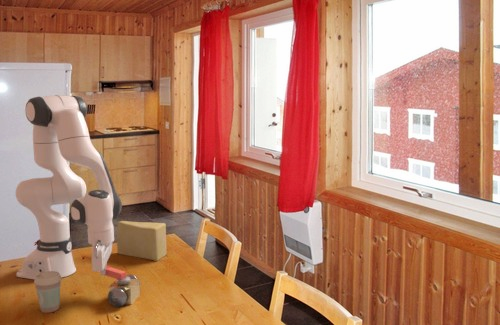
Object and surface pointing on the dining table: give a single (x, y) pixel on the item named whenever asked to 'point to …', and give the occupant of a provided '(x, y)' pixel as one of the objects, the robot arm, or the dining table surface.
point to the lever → (117, 275)
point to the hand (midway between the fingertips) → (103, 274)
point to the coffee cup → (48, 290)
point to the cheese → (142, 239)
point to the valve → (124, 292)
